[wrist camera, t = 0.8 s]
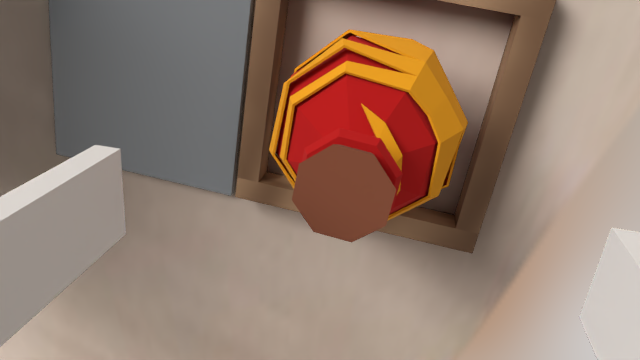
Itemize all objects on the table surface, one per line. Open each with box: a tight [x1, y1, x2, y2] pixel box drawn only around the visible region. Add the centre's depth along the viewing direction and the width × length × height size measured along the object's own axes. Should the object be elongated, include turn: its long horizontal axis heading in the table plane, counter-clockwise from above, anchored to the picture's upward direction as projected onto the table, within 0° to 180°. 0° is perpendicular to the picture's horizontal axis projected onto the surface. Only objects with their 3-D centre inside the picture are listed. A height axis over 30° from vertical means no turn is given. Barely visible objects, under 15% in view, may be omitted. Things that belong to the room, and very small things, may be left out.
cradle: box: [235, 0, 556, 253], centre depth 33 cm, size 16×16×2 cm
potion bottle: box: [269, 30, 468, 242], centre depth 27 cm, size 10×10×15 cm
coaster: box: [49, 0, 254, 196], centre depth 36 cm, size 14×14×1 cm
